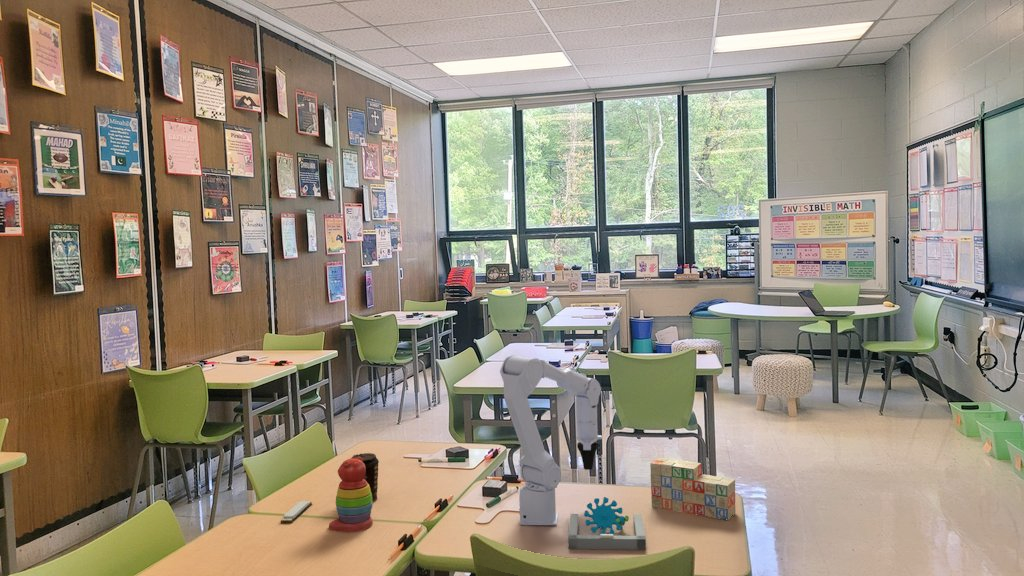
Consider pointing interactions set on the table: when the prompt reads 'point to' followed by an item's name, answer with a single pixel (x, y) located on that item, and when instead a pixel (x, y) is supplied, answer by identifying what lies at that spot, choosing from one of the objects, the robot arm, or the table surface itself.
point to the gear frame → (607, 537)
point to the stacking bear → (352, 498)
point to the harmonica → (295, 512)
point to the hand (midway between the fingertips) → (588, 468)
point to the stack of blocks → (691, 489)
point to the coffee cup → (370, 472)
